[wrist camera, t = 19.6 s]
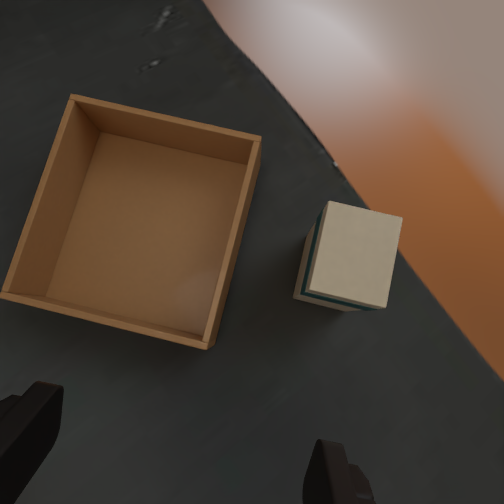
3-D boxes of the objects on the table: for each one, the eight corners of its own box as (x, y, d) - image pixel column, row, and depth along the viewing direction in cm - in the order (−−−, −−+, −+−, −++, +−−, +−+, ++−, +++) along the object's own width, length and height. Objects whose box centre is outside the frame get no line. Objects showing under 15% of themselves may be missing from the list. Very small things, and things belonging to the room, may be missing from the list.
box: (214, 345, 32) (206, 350, 26) (40, 301, 32) (-2, 297, 27) (260, 164, 34) (261, 136, 29) (98, 127, 35) (70, 93, 30)
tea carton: (346, 312, 32) (386, 309, 22) (291, 298, 32) (308, 290, 22) (359, 247, 33) (404, 217, 23) (306, 234, 33) (328, 199, 23)
